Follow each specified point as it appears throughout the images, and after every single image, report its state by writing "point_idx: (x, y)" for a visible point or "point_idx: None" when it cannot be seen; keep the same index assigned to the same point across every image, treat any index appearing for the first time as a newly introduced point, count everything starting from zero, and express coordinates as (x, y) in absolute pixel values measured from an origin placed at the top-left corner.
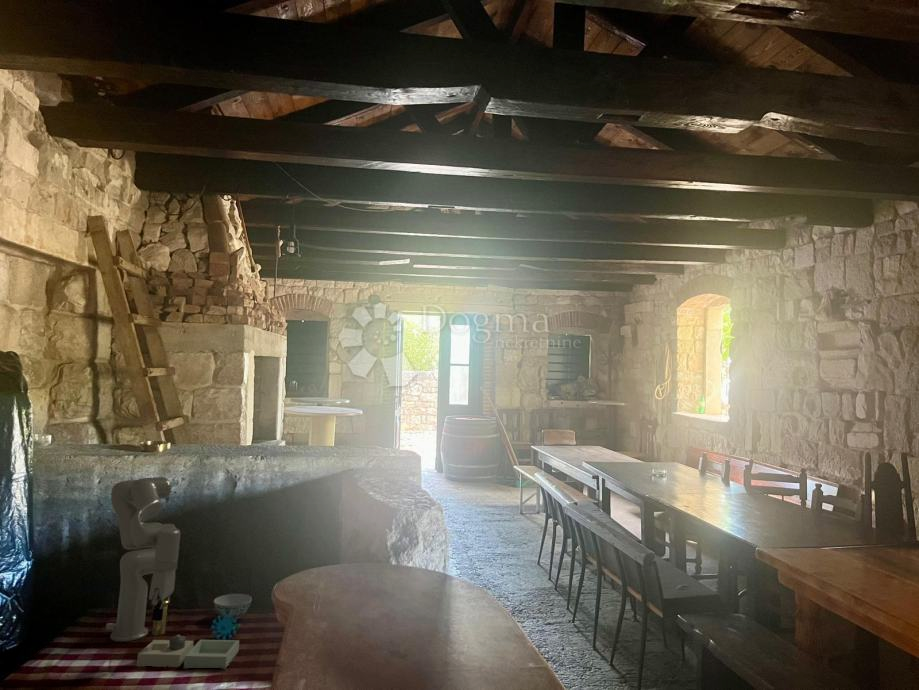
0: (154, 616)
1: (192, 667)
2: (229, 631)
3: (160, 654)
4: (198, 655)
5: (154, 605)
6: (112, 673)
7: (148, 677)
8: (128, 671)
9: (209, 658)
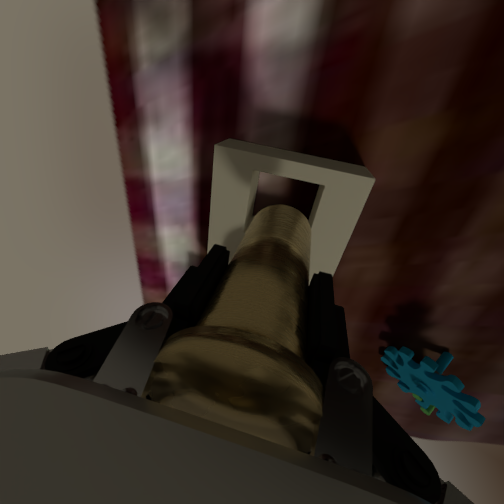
0: (186, 274)
1: None
2: (405, 381)
3: (209, 231)
4: None
5: (40, 360)
6: (172, 54)
7: (154, 197)
8: (190, 119)
9: None
